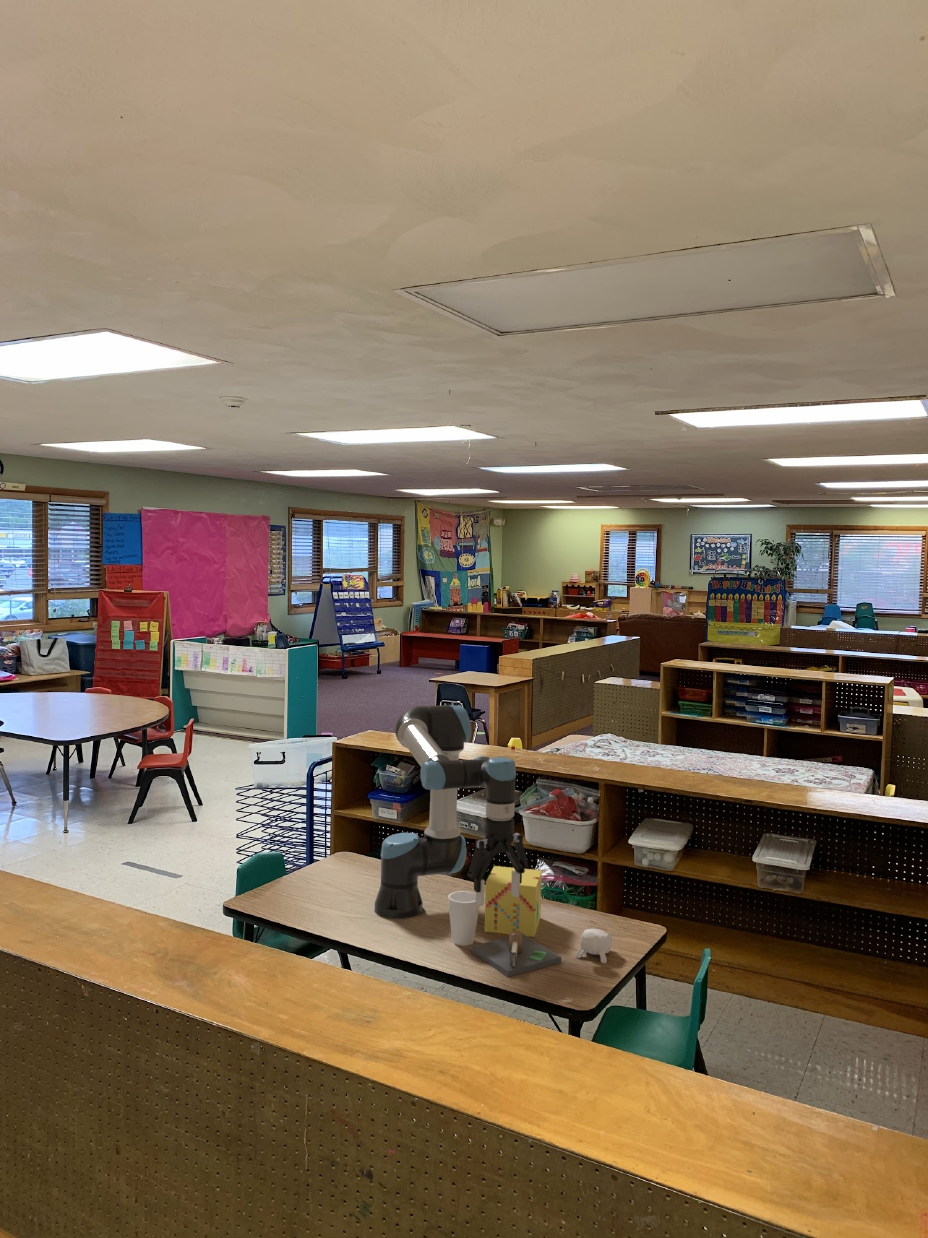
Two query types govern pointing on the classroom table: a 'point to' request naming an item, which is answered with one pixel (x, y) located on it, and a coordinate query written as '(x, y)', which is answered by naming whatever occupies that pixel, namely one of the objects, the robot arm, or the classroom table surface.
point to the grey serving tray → (525, 960)
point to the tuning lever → (515, 945)
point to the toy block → (513, 902)
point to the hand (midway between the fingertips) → (497, 899)
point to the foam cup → (463, 917)
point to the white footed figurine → (595, 943)
